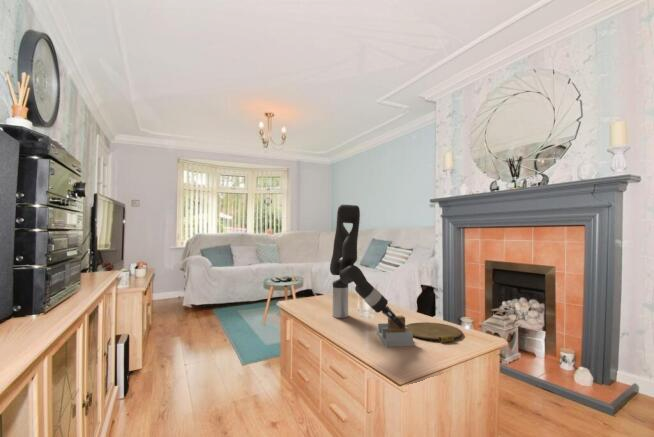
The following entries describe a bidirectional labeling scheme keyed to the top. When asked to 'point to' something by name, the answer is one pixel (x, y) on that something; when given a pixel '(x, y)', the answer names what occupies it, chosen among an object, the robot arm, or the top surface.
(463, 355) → the top surface
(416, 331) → the decorative disc
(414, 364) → the top surface
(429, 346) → the top surface
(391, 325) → the brown rectangular block
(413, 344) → the rack
